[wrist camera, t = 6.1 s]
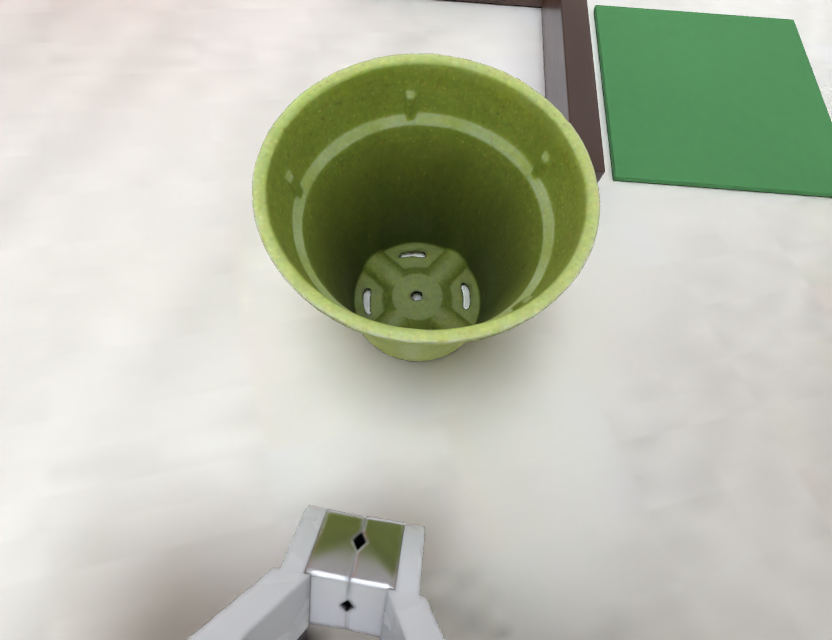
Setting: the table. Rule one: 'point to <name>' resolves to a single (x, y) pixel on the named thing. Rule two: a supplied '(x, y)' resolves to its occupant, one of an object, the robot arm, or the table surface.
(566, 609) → the table surface
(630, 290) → the table surface
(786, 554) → the table surface
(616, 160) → the green cloth
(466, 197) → the plant pot
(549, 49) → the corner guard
